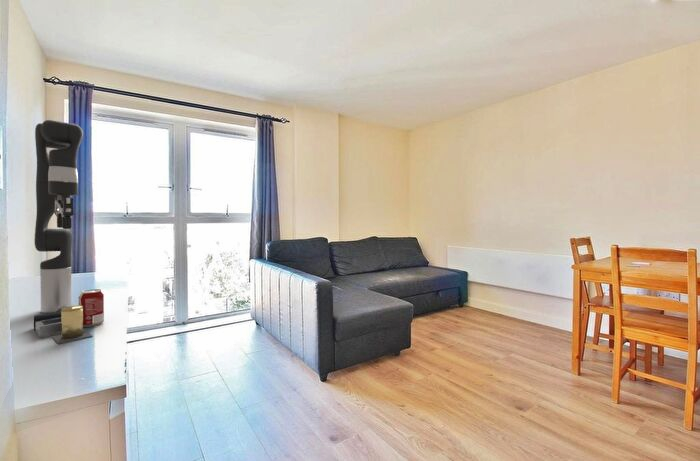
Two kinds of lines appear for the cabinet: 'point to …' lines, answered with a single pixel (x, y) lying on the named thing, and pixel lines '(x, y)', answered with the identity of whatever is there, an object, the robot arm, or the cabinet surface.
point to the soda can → (92, 307)
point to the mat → (60, 340)
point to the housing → (48, 327)
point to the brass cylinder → (72, 321)
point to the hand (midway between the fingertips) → (64, 228)
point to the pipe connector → (47, 316)
